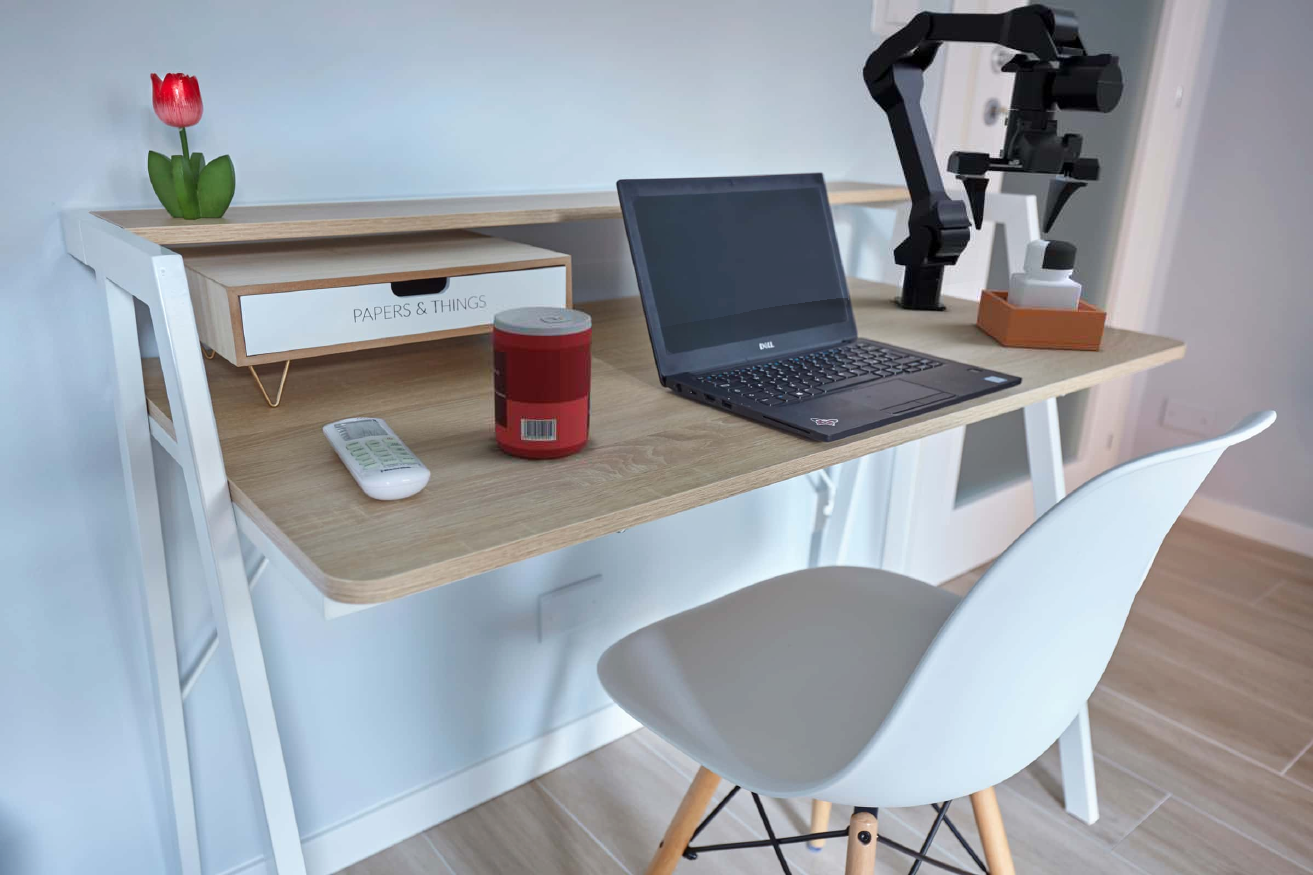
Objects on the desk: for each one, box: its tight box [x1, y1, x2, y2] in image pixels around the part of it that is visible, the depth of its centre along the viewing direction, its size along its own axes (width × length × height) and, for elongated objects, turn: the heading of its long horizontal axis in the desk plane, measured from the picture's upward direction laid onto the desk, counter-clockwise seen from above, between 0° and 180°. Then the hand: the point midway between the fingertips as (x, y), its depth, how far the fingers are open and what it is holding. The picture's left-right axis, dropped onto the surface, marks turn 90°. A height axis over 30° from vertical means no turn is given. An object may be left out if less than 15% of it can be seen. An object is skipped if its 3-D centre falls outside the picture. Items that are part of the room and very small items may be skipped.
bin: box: [975, 289, 1108, 352], centre depth 124 cm, size 12×12×5 cm
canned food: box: [492, 306, 593, 460], centre depth 77 cm, size 8×8×11 cm
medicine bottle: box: [1007, 239, 1083, 310], centre depth 123 cm, size 7×7×12 cm
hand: (1011, 231), depth 127 cm, fingers open, 9 cm apart
